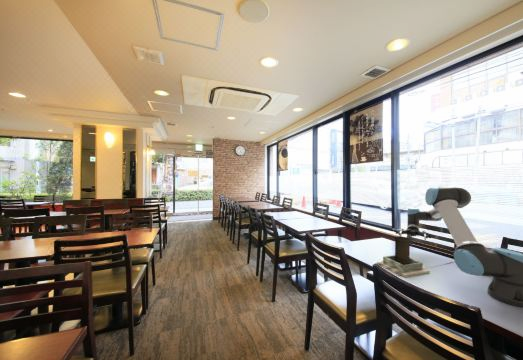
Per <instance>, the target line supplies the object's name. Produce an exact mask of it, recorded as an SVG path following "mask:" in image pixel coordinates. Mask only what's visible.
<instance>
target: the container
mask: <svg viewBox="0 0 523 360" xmlns="http://www.w3.org/2000/svg"><path fill="white" fill-rule="evenodd" d="M394 241H395V242H394V255H395V260H394V261H396V262H398V263H400V264H403V265H407V264H411V263H410V258H411V257H410V256H411V253H410V251H411V249H410V248H411V247H410V246H411V245H410V242H411V239H410V237H405V236H401V237H400V235H398V236H395V237H394Z"/></svg>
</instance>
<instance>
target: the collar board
mask: <svg viewBox="0 0 523 360" xmlns="http://www.w3.org/2000/svg"><path fill="white" fill-rule="evenodd" d="M394 260H395V254H394V255H387V256H386V255H385V256H383V258H382V260H379V261H377V262H376V264H377V263H378V264H377V265H379V264H380V265H379V266H380V267H383V268H385V269H387V270H389V271H391V272H393V273H394V274H397V275H399V276H401V277H403V278H410V277H415V276H420V275H426V274H430V272H431V271H430V269H427V268H426V267H425V268H424V267H423V265H424V264H423V262H421V261H419V260H416V259H414V258H412V257H410V263H411V264H407V265H403V264H400V263H398V262H396V261H394Z"/></svg>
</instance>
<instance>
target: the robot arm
mask: <svg viewBox="0 0 523 360" xmlns="http://www.w3.org/2000/svg"><path fill="white" fill-rule="evenodd" d="M424 201H425V203H426V204H427V205H429V206H432V207H433V208H432V209H430V210H420V209H419V208H416V207H409V208H407V226H406V227H407V228H406V229H405V228H400V229H395V234H396V235H397V234H398V236H399V237H402V235H409V236H411V237H417V236H418V237H419V236H420V237H423V239H424V241H427V239H431V238H432V234H431V233H429V232H426V231H425V230H423V231H420V221H422V222H423V221H425V222H426V221H427V222H441V221H442V220H443V221H444V224H445V226H446V228H447V230H448V231H449V234H450V236H451V237H452V239H453V242H454V243H455V245H456V247H455V250H454V252H453V257H454V258H453V260H454V262H455V265H456V266H457V268H458V269H459V270H460V271H462V272H463V273H465V274H466V275H471V276H477V277H480V276H481V277H492V279H491V281H490V283H489V285H488V286H487V294H488V295H489V296H490V297H492V298H494V299H495V300H498V301H499V302H502V303H505V304H507V305H511V306H515V307H520V308H523V253H522V252H519V251H515V250H511V249H507V248H502V247H493V248H494V249H493V252H491V251H487V250H486V248H485V247H484V244H482V243H479V242H478V241H477V239H476V237H475V235H474V234H473V232H472V230H471V229H470V227H469V226H468V223H467V222H466V220H465V219H464V216H462V214H461V212H460V210H459V209H462V208H465V207H467V206H468V205H469V204H470V203H471V201H472V195H471V194H470V192H469V191H468V190H466V189H465V188H463V187H459V186H431V187H429V188H427V190H426V191H425V197H424Z"/></svg>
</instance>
